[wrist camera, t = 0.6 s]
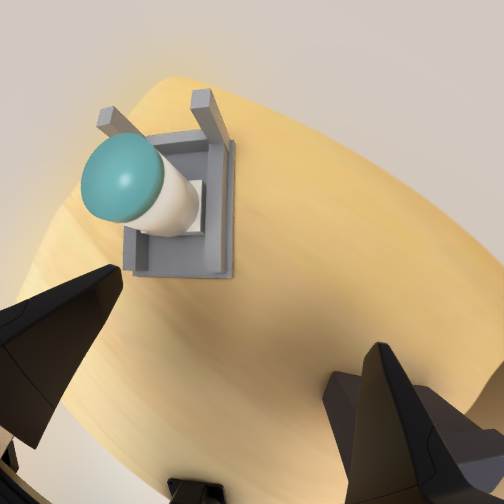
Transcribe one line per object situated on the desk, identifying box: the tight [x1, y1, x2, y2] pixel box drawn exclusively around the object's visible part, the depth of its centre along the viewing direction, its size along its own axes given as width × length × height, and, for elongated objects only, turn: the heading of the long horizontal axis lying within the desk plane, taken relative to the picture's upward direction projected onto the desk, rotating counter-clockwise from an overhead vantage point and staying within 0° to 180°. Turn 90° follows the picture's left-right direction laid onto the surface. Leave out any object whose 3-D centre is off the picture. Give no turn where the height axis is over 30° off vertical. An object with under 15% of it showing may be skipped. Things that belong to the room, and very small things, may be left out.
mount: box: [97, 88, 235, 278], centre depth 20 cm, size 12×9×9 cm
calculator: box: [322, 372, 504, 493], centre depth 14 cm, size 11×4×15 cm, turn 74°
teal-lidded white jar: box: [81, 133, 207, 237], centre depth 18 cm, size 5×5×10 cm
